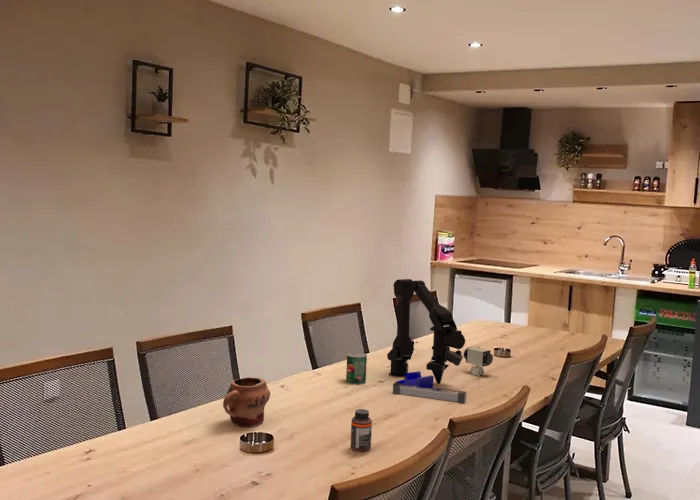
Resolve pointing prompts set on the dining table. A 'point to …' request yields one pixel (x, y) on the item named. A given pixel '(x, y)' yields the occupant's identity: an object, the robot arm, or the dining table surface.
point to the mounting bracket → (418, 380)
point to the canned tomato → (356, 368)
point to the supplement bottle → (361, 431)
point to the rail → (429, 393)
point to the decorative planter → (247, 401)
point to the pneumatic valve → (478, 359)
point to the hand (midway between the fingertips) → (438, 383)
